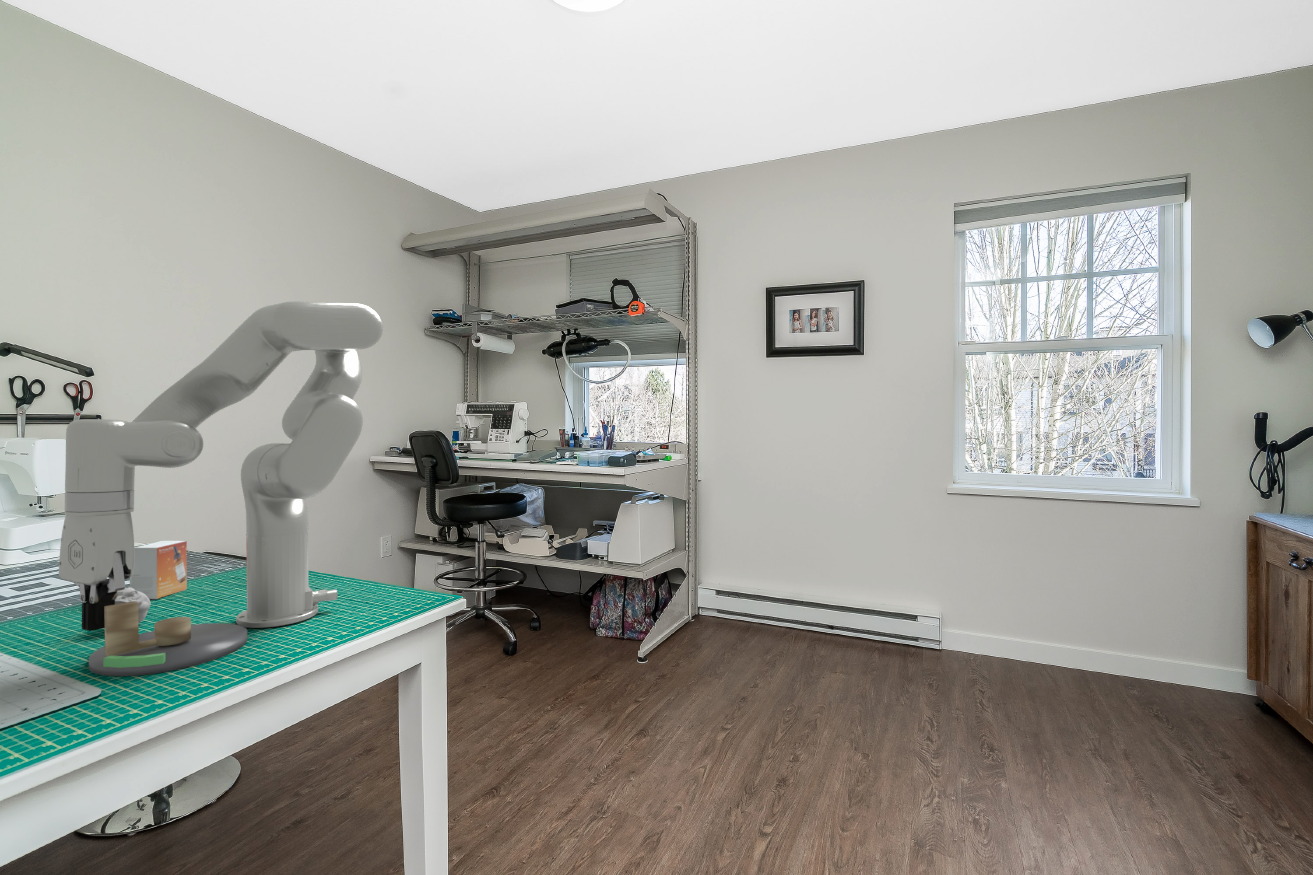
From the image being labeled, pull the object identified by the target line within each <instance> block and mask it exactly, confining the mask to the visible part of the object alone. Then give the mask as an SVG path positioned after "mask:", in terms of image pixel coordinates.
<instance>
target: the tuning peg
mask: <svg viewBox="0 0 1313 875" xmlns="http://www.w3.org/2000/svg"><path fill="white" fill-rule="evenodd" d="M104 616H105V628H104V646H105V655H106V656H107V657H108V656H113V655H117V654H122V653H126V652H131V651H135V650H139V649H142V648H147V647H151V646H156V645H157V646H167V645H174V644H179V643H182V642H185V641H188V640H189V639H191V625H192V618H191V617H189V616H176V617H175V616H174V617H169V618H165V619H160V620H158V621H156V622H155V623H154V626H153V627H154V628H153V629H154V630H153V631H154V639H150V640H146V641H141V642H139V634H140V633H139V630H140V629H139V624H140V623H139V621H138V602H137V601H132V602H127V603H121V604H115V605H109V606H104Z"/></svg>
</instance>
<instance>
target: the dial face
mask: <svg viewBox="0 0 1313 875" xmlns="http://www.w3.org/2000/svg"><path fill="white" fill-rule="evenodd" d="M150 639H154V630H152V631H147V632H143V633H139V642H141V641H146V640H150ZM247 642H248V629H247V627H242V626H240V625H238V624H234V623H221V622H220V623H219V622H218V623H217V622H216V623H212V622H211V623H210V622H209V623H199V624H191V639H189V640H188V641H185V642H182V643H179V644H174V645H167V646H157V645H156V646H151V647H147V648H142V649H139V650H135V651H131V652H126V653H122V654H117V655H113V656H108V657H107V656H106V655H105V645H103V646H102V647H100V648H98V649H96V650H95V651H94V652H92V653H91V654H90V656H89V657H88V670H89V671H90V672H91V673H94V674H96V675H99V676H100V675H101V676H107V677H131V676H132V677H134V676H143V675H144V676H145V675H153V674H160V673H166V672H167V673H168V672H171V671H176V670H181V669H185V668H191V667H194V666H197V665H201V664H202V665H203V664H204V663H205V664H206V663H209V662H211V661H214V660H217V659H220V658H222V657H225V656H227V655H230V654H232V653H234V652H235V651H237V650H239V649H240V648H242V647H244V646H245V644H246V643H247Z"/></svg>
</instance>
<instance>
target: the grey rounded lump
mask: <svg viewBox="0 0 1313 875" xmlns="http://www.w3.org/2000/svg"><path fill="white" fill-rule="evenodd" d="M132 601H137V602H138V621H139V624H141V623H142V622H143V621H144V619H146V616H147V615H148V611H149V609H150V606H151V605H152V604H151V599H149V598H148V597H147V596H146V595H145V594H144V593H142V592H139V591H137V590H134V589H133V588H130V586H129V587H125V589H124V590H120V591H117V598H116V599H115V604H121V603H127V602H132Z"/></svg>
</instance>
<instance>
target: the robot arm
mask: <svg viewBox="0 0 1313 875" xmlns="http://www.w3.org/2000/svg"><path fill="white" fill-rule="evenodd" d="M383 331H384V325H383V321H382V319H381V317H380V315H379V314H378V312H376V311H375V310H374V309H373V308H371V307H370V306H368V305H366V304H362V303H358V302H320V301H319V302H317V301H285V302H281V303H276V304H271V305H267V306H263V307H261V308H258V309H257V310H255V311H254V312H253V313H252V314H251V315H250V316H248V317H247V318H246V319H245V320H244V321H243V322H242V323H241V324H240V325H239V326H238V327H237V328H236V329H235V330H234V331H233V332H232V333H231V334H230V335H229V336H228V337H227V338H226V339H225V340H224V341H223V342H222V343H221V344H220V345H219V346H218V347H217V348H215V349H214V350H213V351H212V353H210V354H209V355H208V356H207V357H206V358H205V359H204V360H203V361H201V363H199V364H198V365H196V366H195V367H194V368H192V369H191V370H190V371H188V373H186V374H185V375H184V376H183V377H181V378H180V379H179V380H177V381H176V382H174V383H173V384H172V385H171V386H169V387H168V388H167V389H166V390H164V391H162V392H161V394H160V395H159V396H157V397H156V398H155V399H154V400H153V401H151V402H150V404H149V405H147V406H146V408H144V409H143V410H142V411H141V413H139V414H138V415H137V416H136V417H135V418H134V419H133V421H130V422H129V421H126V420H121V419H103V418H101V419H99V418H96V419H93V418H92V419H91V418H90V419H89V418H87V419H86V418H84V419H76V420H73V421H71V422H70V423H68V424H67V426H66V431H65V472H64V473H65V475H64V477H65V478H64V479H65V480H64V515H65V517H64V522H63V526H62V530H61V540H60V546H59V548H60V549H59V559H58V560H59V562H58V575H59V576H58V577H60V578H61V580H64V581H67V582H70V583H71V582H72V583H73V584H74V585H75V586H76V587H77V586H78V588H79V595H80V596H79V597H80V601H81V602H82V603H81V629H82V631H83V630H84V631H87V632H94V631H97V630H101V629H105V616H104V606H109V605H115V599H116V598H117V591H120V590H124V589H125V588H126V580H128V579H130V577H131V576H132V575H133V571H134V547H135V537H134V525H133V517H132V513H133V512H135V472H136V471H135V470H136V468H135V467H136V466H141V467H156V468H165V469H173V468H174V469H176V468H179V467H180V468H181V467H184V466H186V465H189V464H191V463H193V462H194V461H195V460H196V459H197V458H199V456H200V455H201V454H202V451H203V449H204V440H203V436H202V434H201V433H200V431H199V430H198V427H199V426H200V425H201V424H203V423H204V421H205V422H206V420H207V419H209V418H210V417H212V416H213V415H215V414H216V413H218V412H220V411H221V410H224V409H225V408H228V407H230V406H232V405H235V404H237V403H239V402H241V401H242V400H245V399H246V398H248V397H249V396H252V394H253V393H255V392H256V391H257V389H258V388H259V387H260V386H261V385H262V384H263V383H264V382H265V380H267V379H268V377H269V376H270V375H271V374H272V373H273V372H274V371H275V370H276V369H277V367H279V365H280V364H282V363H283V362H284V360H285V359H286V358H287V357H288V356H289V355H290V354H291V353H292V352H298V351H314V354H315V360H316V361H315V365H314V368H313V370H312V371H311V373H310V375H309V377H308V378H307V380H306V382H305V383H303V386H302V387H301V388H300V390H299V391H298V393H297V394H296V396H295V397H294V399H293V400H292V401H291V403H290V404H289V405H288V407H287V408H286V409H285V411H284V413H283V416H282V419H281V429H282V430H283V432H284V434H285V435H286V436H287V437H288V439H290V440H291V442H290V443H283V442H281V443H280V442H275V443H274V442H272V443H267V444H264V445H260V446H258V447H256V448H254V449H253V450H252V451H250V452H249V453H248V454H247V455H246V457H245V458H244V460H243V462H242V465H241V469H240V482H241V488H242V493H243V497H244V498H243V499H244V506H245V507H244V508H245V523H246V525H245V526H246V528H245V529H246V534H245V536H246V545H245V546H246V547H245V548H246V610H244V611H243V610H242V612H240V613H238V614H237V615H236V621H235V622H236V625H239V626H242V627H244V628H251V629H252V628H253V629H254V628H256V629H257V628H259V629H260V628H261V629H262V628H264V629H265V628H273V627H274V628H275V627H280V626H287V625H291V624H295V623H296V624H297V623H300V622H303V621H305V620H308V619H311V618H312V617H314V616H316V615H317V614H318V613H319V605H318V604H320V602H325V601H326V602H329V601H336V600H338V590H337V589H336V588H335V589H331V590H328V589H320V590H313V589H312V588H311V587H310V586H309V514H308V507H307V503H306V500H307V499H312V498H313V497H317V496H318V495H319V494H321V493H322V492H324V491H325V490H326V489H327V488H328V486H330V484H331V483H332V482H333V480H334V479H335V477H336V475H337V474H338V472H339V470H340V469H341V467H342V466H343V465H344V462H345V461H346V459H347V458H348V456H349V455H350V453H351V451H352V449H353V448H354V447H355V445H356V443H357V441H358V439H359V437H360V436H361V432H362V430H363V426H364V425H363V422H364V420H363V419H364V418H363V413H362V410H361V408H360V406H359V404H358V403H357V402H356V401H355V400H354V398H355V396H356V394H357V392H358V390H359V388H360V386H361V383H362V381H363V380H362V379H363V370H362V365H361V360H360V357H359V353H358V351H359V350H366V349H369V348H371V347H373V346H375V345H376V344H377V343H378V342H379V341H380V339H381V338H382V336H383ZM305 499H306V500H305Z"/></svg>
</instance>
